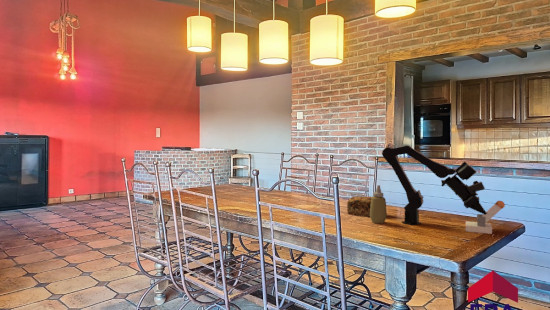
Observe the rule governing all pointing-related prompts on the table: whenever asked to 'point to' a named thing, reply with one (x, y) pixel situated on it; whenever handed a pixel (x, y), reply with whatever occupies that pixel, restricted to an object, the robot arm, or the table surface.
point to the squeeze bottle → (378, 207)
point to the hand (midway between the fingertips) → (485, 213)
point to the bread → (359, 205)
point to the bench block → (479, 225)
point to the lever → (493, 210)
